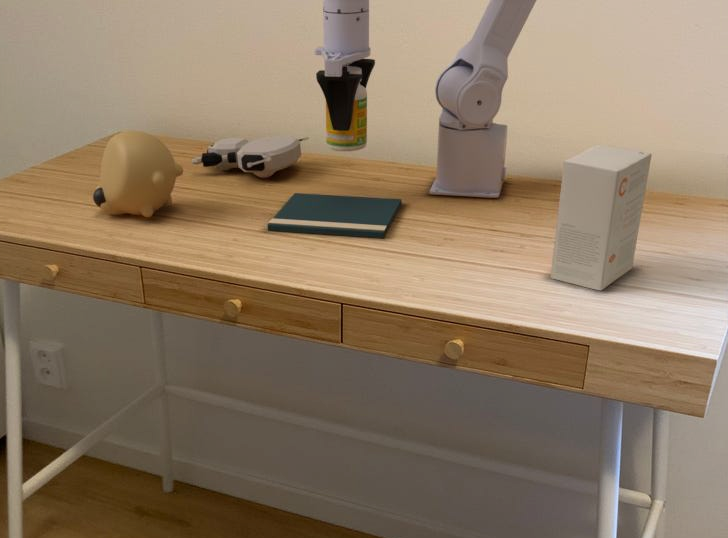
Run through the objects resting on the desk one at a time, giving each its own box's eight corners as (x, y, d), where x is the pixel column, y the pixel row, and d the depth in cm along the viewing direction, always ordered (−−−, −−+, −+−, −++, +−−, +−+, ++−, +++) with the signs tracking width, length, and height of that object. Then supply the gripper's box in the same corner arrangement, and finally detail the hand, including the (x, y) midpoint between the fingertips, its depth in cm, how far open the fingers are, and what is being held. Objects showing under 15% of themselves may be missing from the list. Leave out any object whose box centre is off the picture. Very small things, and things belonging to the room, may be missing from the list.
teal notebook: (401, 204, 125) (402, 198, 124) (383, 238, 114) (383, 231, 114) (294, 198, 128) (294, 192, 127) (267, 230, 118) (267, 223, 117)
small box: (581, 256, 108) (598, 142, 101) (633, 269, 105) (654, 152, 97) (548, 278, 103) (562, 159, 96) (600, 292, 99) (620, 170, 92)
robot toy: (189, 181, 138) (277, 185, 132) (184, 150, 136) (273, 153, 129) (230, 160, 147) (314, 162, 141) (226, 130, 145) (312, 132, 138)
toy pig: (159, 226, 130) (105, 170, 129) (205, 167, 123) (148, 107, 122) (120, 248, 123) (63, 188, 121) (166, 187, 115) (105, 122, 114)
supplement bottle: (362, 153, 121) (363, 73, 115) (322, 151, 122) (321, 72, 116) (369, 142, 125) (370, 65, 120) (330, 140, 126) (329, 64, 121)
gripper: (329, 1, 121) (330, 109, 129) (299, 19, 109) (302, 136, 117) (382, 2, 119) (380, 111, 127) (357, 20, 108) (356, 139, 115)
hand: (346, 124), depth 122 cm, fingers closed on supplement bottle, 5 cm apart
